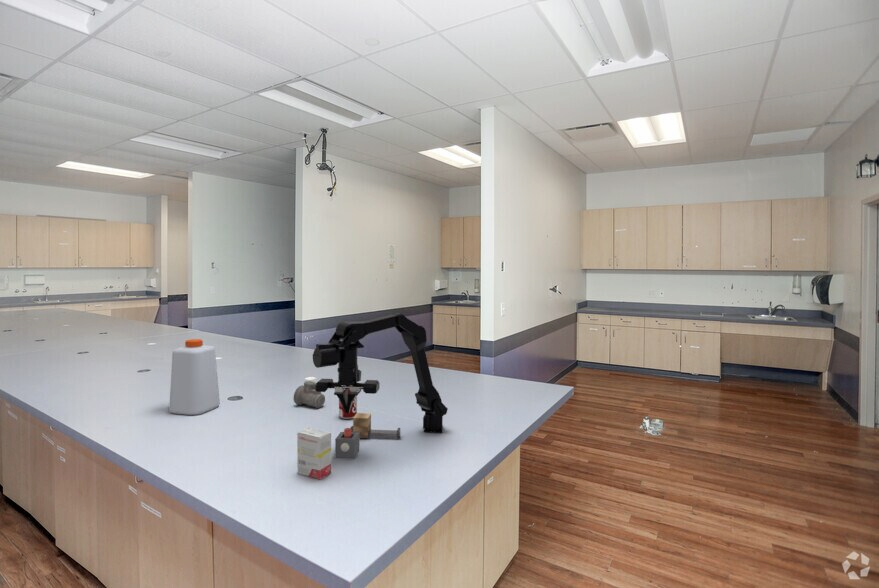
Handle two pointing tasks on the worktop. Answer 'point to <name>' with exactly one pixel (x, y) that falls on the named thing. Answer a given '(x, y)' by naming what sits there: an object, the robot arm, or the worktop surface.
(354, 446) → the grey button housing
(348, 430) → the red peg
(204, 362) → the plastic bottle
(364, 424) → the block
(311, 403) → the pipe fitting
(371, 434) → the rail
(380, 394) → the worktop surface
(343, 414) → the soda can
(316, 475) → the ink box
